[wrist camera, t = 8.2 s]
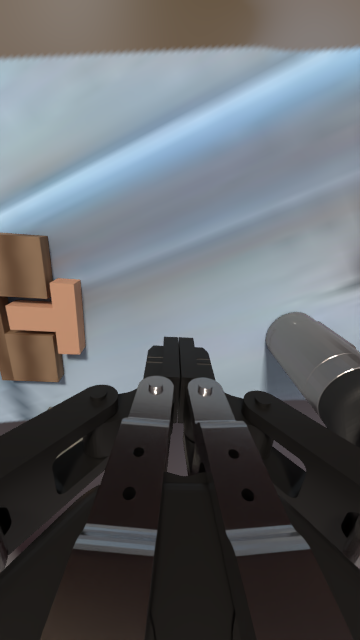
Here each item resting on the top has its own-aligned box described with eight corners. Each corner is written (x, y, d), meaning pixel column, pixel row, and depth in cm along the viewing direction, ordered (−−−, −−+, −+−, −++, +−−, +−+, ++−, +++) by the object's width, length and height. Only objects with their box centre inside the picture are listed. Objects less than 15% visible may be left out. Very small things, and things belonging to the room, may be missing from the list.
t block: (80, 279, 40) (73, 284, 37) (85, 345, 45) (79, 354, 42) (12, 275, 39) (0, 279, 37) (24, 343, 44) (14, 351, 41)
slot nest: (47, 236, 37) (39, 237, 35) (63, 373, 46) (58, 382, 44) (-20, 231, 37) (-32, 232, 34) (10, 371, 46) (2, 379, 44)
